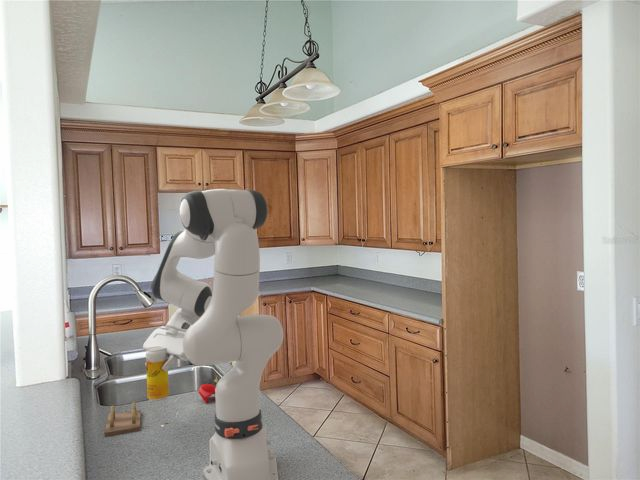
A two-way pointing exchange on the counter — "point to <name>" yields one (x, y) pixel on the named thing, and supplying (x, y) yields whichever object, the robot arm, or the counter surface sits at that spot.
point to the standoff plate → (123, 421)
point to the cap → (206, 391)
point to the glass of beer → (156, 374)
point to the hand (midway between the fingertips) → (155, 368)
